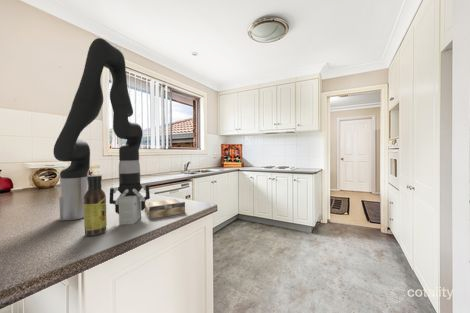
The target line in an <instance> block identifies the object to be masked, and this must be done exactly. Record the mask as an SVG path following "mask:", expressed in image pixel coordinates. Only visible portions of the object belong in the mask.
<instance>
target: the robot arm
mask: <svg viewBox="0 0 470 313" xmlns="http://www.w3.org/2000/svg"><path fill="white" fill-rule="evenodd" d="M83 68H84V69H83V72H82V76H81V78H80V82H79V85H78V88H77V90H76V93H75V95H74V98H73V101H72V103H71V108H70V110H69V112H68V115H67V117H66V120H65V123H64V125H63V127H62V129H61V131H60V133H59V135H58V137H57V139H56V141H55V142H54V143H55V144H54V146H53V151H52V152H53V157H54V158H55V159H56V160H57V161H59V162H70V165H69V166H68V167H66V168H65V169H63V170H61V171H60V172H59V184H60V186H59V187H60V196H59V198H58V200H59V201H58V203H59V204H58V205H59V221H75V220H79V219H84V196H85V194H86V192H87V191H88V180H87V177H88V176H89V175H88V174H89V171H90V166H91V165H90V164H91V149H90V145H89V144H88V142H86V141H85V140H83V139H79V137H80V134H81V133H82V132H83V130H85V128H87V127H89V125H90V124H91V123H92V122H94V121H95V120H96V119H97V118H98V116H99V115H100V113H101V109H102V107H103V105H104V92H103V88H102V83H101V78H102V73H103V70H104V68H106V69H108V70H109V73H110V75H111V77H112V84H111V86H110V90H109V99H110V100H109V101H110V104H111V108H112V112H113V114H112V115H113V116H112V118H113V119H112V121H113V122H112V127H113V128H112V129H113V133H114V134H115V135H116V137H117V138H119V139H121V140H126V142H125V144H124V145H121V146H119V150H118V154H119V155H118V158H119V159H118V160H119V162H118V184H119V185H118V187H112V186H111V187H110V188H109V204H110V205H114V207H115V208H114V211H115V214H117V215H119V198H120V197H124V196H135V195H137V196H138V197H139V198H140V199H141V211H145V203H146V201H147V200H149V199H151V195H150V185H149V184H147V183H145V184H143V185H142V184H141V165H140V148H141V144H142V140H143V129H142V126H141V125H140V124H139V123H137V122H132V121H130V120H129V118H130V117H132V116H133V114H134V109H133V105H132V100H131V97H130V94H129V88H128V81H127V71H126V70H127V67H126V61H125V55H124V53H123V52H122V51H121V50H120V49H119V48H118V47H116V46H115V45H113V44H112V43H110V42H109V41H107V40H106V39H104V38H100V37H99V38H98V37H97V38H96V39H94V40H93V41H92V42H90V46H89V47H88V50H87V55H86V59H85V64H84V67H83ZM142 189H143V191H145V196H143V194H142V193H141V194H140V191H141V190H142ZM117 191H118V192H119V196H118V197H117V198H116V199H114V194H116V193H117Z"/></svg>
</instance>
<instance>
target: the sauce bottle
mask: <svg viewBox="0 0 470 313" xmlns="http://www.w3.org/2000/svg"><path fill="white" fill-rule="evenodd" d="M102 178H103V177H102V174H99V175H98V174H97V175H96V174H95V175H94V174H93V175H88V177H87V180H88V191H87V192H86V194H85V196H84V218H83V219H84V220H83V223H84V234H85V236H86V237H90V236H91V237H92V236H98V235H101V234H103V233H105V232H106V231H107V196H106V195H107V194H106V192H105V191H104V190H103V189H102Z"/></svg>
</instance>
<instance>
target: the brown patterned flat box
mask: <svg viewBox="0 0 470 313" xmlns="http://www.w3.org/2000/svg"><path fill="white" fill-rule="evenodd" d="M144 211H145V213H146V215H147V216H148V218H149V219H156V218H162V217H168V216H173V215H178V214H179V215H180V214H185V213H186V201H182V202H180V200H178V199H176V198H174V199H172V198H171V199H166V200H158V201H150V202H145V209H144Z"/></svg>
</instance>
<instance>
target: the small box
mask: <svg viewBox="0 0 470 313" xmlns="http://www.w3.org/2000/svg"><path fill="white" fill-rule="evenodd" d="M139 193H140V192H139ZM140 194H141V195H142V193H140ZM141 201H142V200H141V199H140V198H139V197H138V196H137V195H135V196H124V197H120V198H119V214H118V223H119V224H118V225H121V226H124V225H134V224H135V223H136V222H138V221H139V220H140V219H141V218H142V210H141Z"/></svg>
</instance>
